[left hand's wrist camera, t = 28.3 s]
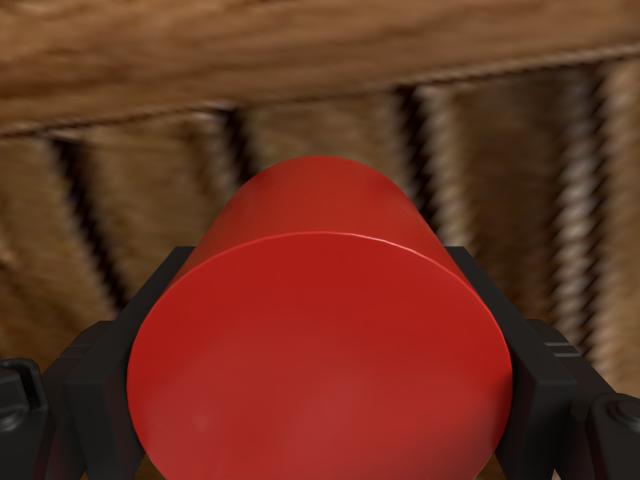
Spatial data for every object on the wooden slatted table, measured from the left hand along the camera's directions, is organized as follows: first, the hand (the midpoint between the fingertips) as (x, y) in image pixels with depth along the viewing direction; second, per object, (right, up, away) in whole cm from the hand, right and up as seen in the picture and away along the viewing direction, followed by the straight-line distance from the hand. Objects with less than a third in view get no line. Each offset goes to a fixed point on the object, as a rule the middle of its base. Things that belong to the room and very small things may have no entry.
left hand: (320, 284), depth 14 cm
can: (0, +1, +1) cm, 1 cm away
